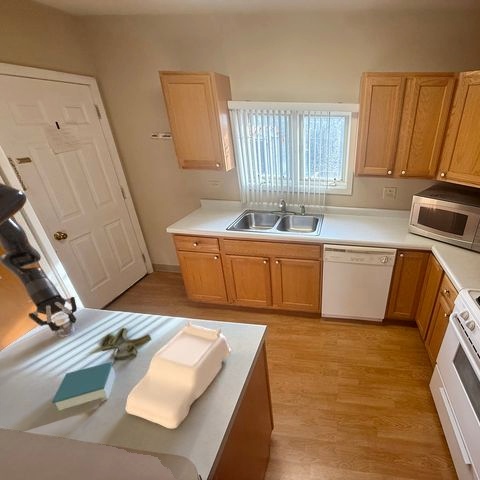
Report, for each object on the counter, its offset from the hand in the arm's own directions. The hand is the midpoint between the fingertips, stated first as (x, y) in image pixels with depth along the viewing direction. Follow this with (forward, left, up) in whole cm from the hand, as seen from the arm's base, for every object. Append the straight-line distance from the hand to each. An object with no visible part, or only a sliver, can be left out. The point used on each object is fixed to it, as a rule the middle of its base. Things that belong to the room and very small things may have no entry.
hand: (65, 326), depth 101 cm
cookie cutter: (+21, -15, -4) cm, 26 cm away
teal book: (+16, -33, -4) cm, 37 cm away
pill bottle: (-1, +2, -4) cm, 5 cm away
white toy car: (+44, -40, -4) cm, 59 cm away
